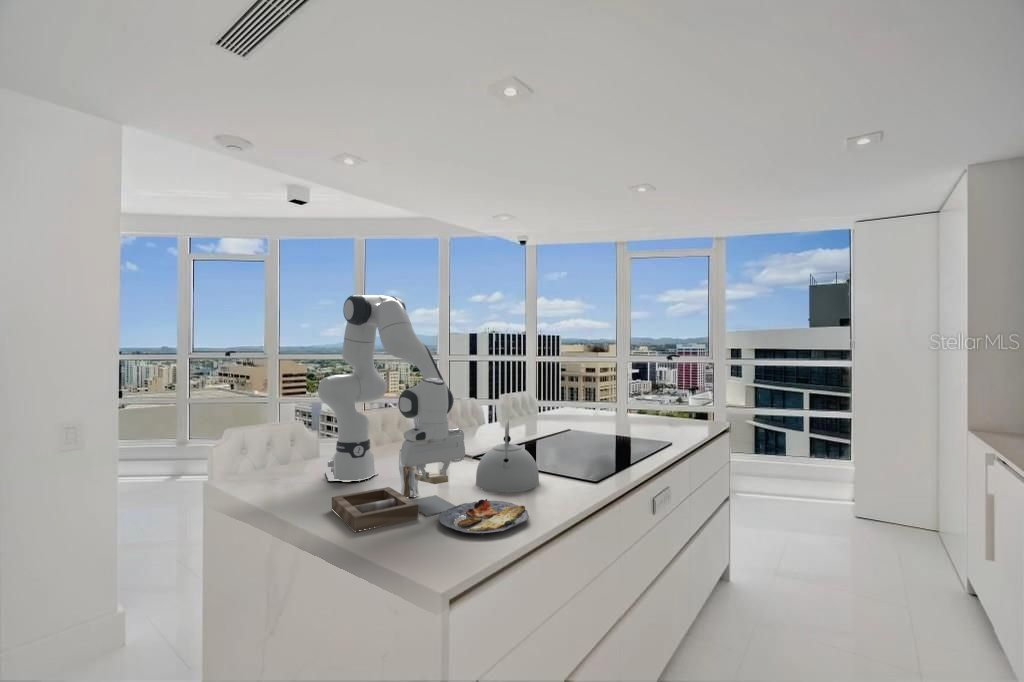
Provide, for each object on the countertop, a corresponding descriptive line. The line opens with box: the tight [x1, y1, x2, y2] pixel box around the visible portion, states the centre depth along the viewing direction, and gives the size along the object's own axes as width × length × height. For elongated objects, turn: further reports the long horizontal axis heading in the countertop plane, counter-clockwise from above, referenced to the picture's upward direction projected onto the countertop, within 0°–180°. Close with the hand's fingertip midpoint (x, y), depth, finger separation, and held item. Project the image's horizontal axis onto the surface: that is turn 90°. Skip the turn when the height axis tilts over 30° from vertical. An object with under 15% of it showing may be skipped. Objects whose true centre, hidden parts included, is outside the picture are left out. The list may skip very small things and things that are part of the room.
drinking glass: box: [398, 448, 421, 498], centre depth 163 cm, size 7×7×15 cm
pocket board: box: [331, 486, 419, 532], centre depth 145 cm, size 22×18×4 cm
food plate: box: [437, 498, 530, 535], centre depth 138 cm, size 25×23×4 cm
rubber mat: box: [411, 494, 456, 518], centre depth 152 cm, size 16×11×1 cm
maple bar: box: [415, 471, 449, 485], centre depth 152 cm, size 14×4×2 cm, turn 35°
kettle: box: [475, 419, 540, 493], centre depth 176 cm, size 25×23×22 cm
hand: (434, 477), depth 150 cm, fingers closed on maple bar, 4 cm apart
